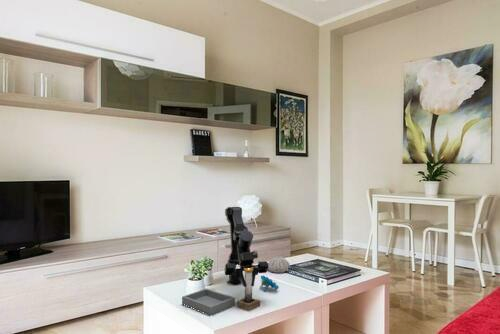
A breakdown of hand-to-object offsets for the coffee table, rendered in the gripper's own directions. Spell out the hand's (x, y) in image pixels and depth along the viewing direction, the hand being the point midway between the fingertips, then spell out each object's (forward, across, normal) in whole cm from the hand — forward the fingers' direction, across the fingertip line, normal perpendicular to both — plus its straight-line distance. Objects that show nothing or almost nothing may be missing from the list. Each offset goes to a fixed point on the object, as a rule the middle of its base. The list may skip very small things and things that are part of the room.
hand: (249, 286), depth 149 cm
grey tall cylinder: (+4, 0, +6) cm, 7 cm away
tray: (+2, -16, +11) cm, 20 cm away
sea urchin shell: (-29, +27, +43) cm, 58 cm away
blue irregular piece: (-8, +14, +21) cm, 26 cm away
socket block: (+5, 0, +7) cm, 9 cm away
